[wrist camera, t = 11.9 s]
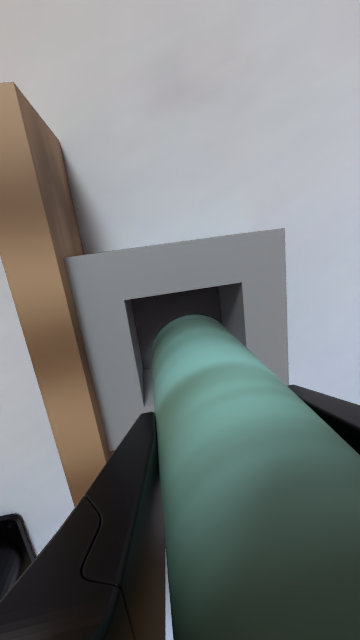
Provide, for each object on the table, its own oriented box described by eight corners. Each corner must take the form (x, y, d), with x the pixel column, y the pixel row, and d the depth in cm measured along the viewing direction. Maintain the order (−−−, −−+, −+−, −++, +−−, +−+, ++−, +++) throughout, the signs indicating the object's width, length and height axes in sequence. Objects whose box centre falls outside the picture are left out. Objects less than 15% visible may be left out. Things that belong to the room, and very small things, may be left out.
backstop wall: (127, 454, 20) (122, 528, 15) (98, 460, 20) (83, 538, 15) (59, 140, 15) (13, 82, 9) (19, 144, 15) (-50, 86, 9)
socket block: (257, 378, 20) (289, 415, 16) (116, 404, 19) (109, 451, 15) (248, 232, 17) (284, 228, 13) (83, 254, 16) (63, 258, 12)
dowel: (237, 387, 14) (557, 848, 3) (157, 402, 13) (218, 979, 3) (231, 308, 13) (677, 610, 2) (143, 322, 12) (160, 774, 2)
